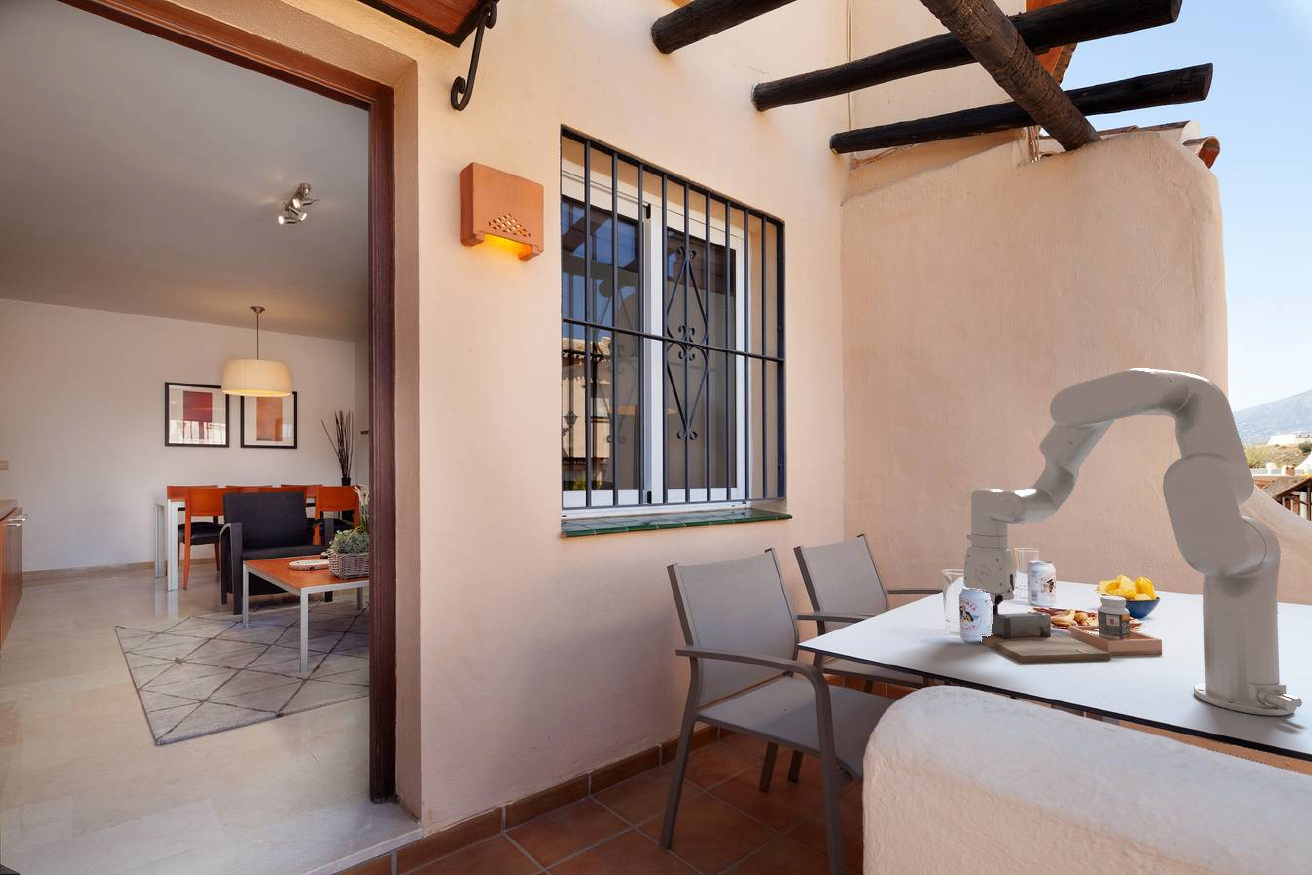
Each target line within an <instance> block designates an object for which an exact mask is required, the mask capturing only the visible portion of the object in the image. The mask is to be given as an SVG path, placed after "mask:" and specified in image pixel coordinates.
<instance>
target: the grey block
mask: <svg viewBox="0 0 1312 875" xmlns="http://www.w3.org/2000/svg"><path fill="white" fill-rule="evenodd" d="M1051 618H1052V615H1051V614H1050V613H1047V612H1044V611H1043V612H1042V611H1041V612H1039V611H1036V612H1035V611H1033V612H1023V613H1021V612H1020V613H1019V612H1018V613H999V612H998V613H993V624H992V630H991V629H990V630H991V631H992V632H991V631H990V632H991V634H994V635H996V636H999V637H1001V638H1004V639H1010V638H1011V637H1023V636H1051V633H1052V619H1051Z"/></svg>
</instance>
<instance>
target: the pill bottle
mask: <svg viewBox="0 0 1312 875" xmlns="http://www.w3.org/2000/svg"><path fill="white" fill-rule="evenodd" d="M1099 601H1100V603H1101V605H1100V606H1098V608H1097V617H1098V620H1097V621H1098V629H1099V636H1100V637H1103V638H1105V639H1108V640H1120V639H1130V629H1131V617H1130V615H1131V613H1130V611H1129V609H1128V608H1126V606H1127V599H1126V598H1125V597H1123V596H1117V595H1101V596H1100V599H1099Z"/></svg>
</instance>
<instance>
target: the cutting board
mask: <svg viewBox="0 0 1312 875" xmlns="http://www.w3.org/2000/svg"><path fill="white" fill-rule="evenodd" d="M982 638H983V639H982V643H981V644H984V646H987V647H988V648H991V649H992V650H994V651H997V652H999V653H1001V654H1003V655H1005V656H1006V657H1009V658H1011V659H1013V660H1015V661H1016V662H1019V663H1021V664H1030V663H1032V664H1034V663H1035V664H1037V663H1039V664H1040V663H1041V664H1042V663H1043V664H1044V663H1069V662H1071V663H1073V662H1076V663H1077V662H1100V661H1101V662H1102V661H1103V662H1104V661H1105V662H1106V661H1111V656H1110V653H1109V652H1106V651H1104V650H1101V649H1099V648H1096V647H1094V646H1091V645H1089V644H1086V643H1084V642H1081V641H1078V640H1076V639H1073V638H1071V637H1068V635H1065V634H1063V633H1061V632H1051V636H1023V637H1011V638H1010V639H1004V638H1001V637H999V636H996V635H994V634H992V633H991V636H988V637H987V636H982Z"/></svg>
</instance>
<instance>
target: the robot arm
mask: <svg viewBox="0 0 1312 875" xmlns="http://www.w3.org/2000/svg"><path fill="white" fill-rule="evenodd" d="M1049 414H1050V417H1051V418H1052V420H1053V421H1054V424H1053V425H1052V427H1051V428H1050V430H1049V431H1047V433H1046V435H1045V436H1044V438H1043V439H1042V441H1040V443H1039V447H1038V448H1039V451H1040V453H1041V454H1042V455H1043V457H1044V458H1045V465H1044V469H1043V471H1042V473H1041V474H1040V475H1039V477H1038V478H1037V480H1036V481H1035V482H1034V484H1033V485H1032V487H1031V488H1025V489H1024V488H1023V489H1014V490H1013V489H1010V490H1003V489H999V488H984V487H983V488H975V489H973V490H972V492H971V493H970V534H967V535H966V540H967V541H970V544H971V545H968V546H966V547H967V549H966V553H965V557H964V563H963V576H962V577H963V578H962V579H963V580H962V581H963V586H964V587H965V588H976V589H980V588H983V589H986V591H984V590H982V591H983V592H986V593H989V595H990V597H991V601H992V603H993V613H998V614H999V608H998V606H999V605H1001V603H1002V602H1003V601H1012V600H1014V599H1015V595H1014V591H1015V587H1016V580H1015V579H1016V577H1015V567H1014V560H1013V556H1012V551H1011V549H1009V547H1008V546H1009V545H1008V543H1009V542H1008V540H1009V539H1008V533H1009V532H1008V525H1009V524H1010V525H1025V524H1032V523H1033V524H1034V523H1041V522H1045V521H1047V520H1049V519H1051V518H1052V517H1053V516H1054V515H1055V514H1056V513H1057V512H1058V511H1059V510H1060V508H1061V507H1062V506H1063V505H1064V503H1065V502H1066V501H1067V500H1068V498H1069V497H1070V495H1071V494H1072V492H1073V491H1074V489H1075V486H1076V484H1077V481H1078V477H1079V473H1080V467H1081V465H1082V464H1083V463H1084V461H1085V460H1086V459H1087V458H1088V456H1089V455H1090V453H1091V452H1092V450H1093V449H1094V448H1095V446H1096V445H1097V444H1098V443H1099V441H1101V439H1102V438H1103V436H1104V435H1105V434H1106V433H1107V431H1108V430H1109V429H1110V427H1111V426H1112V425H1113V424H1114V423H1115V421H1116V420H1119V419H1124V418H1129V417H1134V416H1163V417H1164V416H1167V417H1170V418H1172V419H1173V420H1174V424H1175V425H1174V433H1175V434H1174V436H1175V440H1176V443H1177V446H1178V449H1179V453H1180V458H1179V459H1177V460H1175V461H1174V462H1173V463H1171V465H1169V466H1168V468H1167V469H1166V471H1165V473H1164V475H1163V481H1162V491H1163V496H1164V501H1165V504H1166V507H1167V511H1168V515H1169V519H1170V523H1171V528H1172V531H1173V534H1174V535H1173V536H1174V538H1175V542H1176V545H1177V548H1178V552H1179V553H1180V555H1181V556H1182V558H1183V560H1184V562H1186V563H1187V564H1188V565H1189V567H1190V568H1192V569H1193V570H1195V571H1196V572H1198V573H1200V574H1203V575H1204V577H1203V583H1202V584H1203V586H1202V614H1203V615H1202V616H1203V618H1202V619H1203V647H1204V648H1203V650H1204V651H1203V652H1204V680H1205V681H1204V682H1199V683H1197V684H1195V685H1194V686H1193V693H1194V695H1195V696H1196V697H1197V698H1199V699H1201V700H1202V701H1204V702H1207V703H1209V704H1212V705H1214V706H1217V707H1220V708H1224V709H1228V710H1231V711H1236V712H1240V713H1244V714H1245V713H1247V714H1251V715H1252V714H1253V715H1261V716H1274V717H1275V716H1278V717H1279V716H1280V717H1281V716H1287V715H1290V714H1293V712H1295V711H1296V710H1297V708H1300V707H1301V706H1302V704H1303V701H1302V699H1301V698H1298V697H1297V696H1296V697H1295V696H1293V695H1289V694H1287V684H1285V683H1282V682H1281V681H1280V655H1279V651H1280V650H1279V649H1280V648H1279V624H1278V623H1279V621H1278V620H1279V618H1278V615H1279V611H1278V610H1279V608H1278V605H1279V604H1278V587H1279V583H1278V582H1279V575H1280V574H1279V573H1280V567H1281V553H1282V551H1281V545H1280V541H1279V539H1278V537H1277V536H1276V534H1275V532H1274V531H1273V530H1272V528H1270V527H1269V526H1268V525H1267V524H1265V523H1264V522H1262V521H1260V520H1258V519H1257V518H1253V517H1249V516H1245V515H1242V514H1241V511H1240V507H1239V506H1240V505H1242V504H1244V503H1245V502H1247V501H1249V499H1250V498H1251V497H1252V495H1253V494H1254V490H1255V481H1254V477H1253V475H1252V471H1251V468H1250V465H1249V462H1248V459H1247V455H1246V453H1245V449H1244V446H1243V442H1242V438H1241V436H1240V433H1239V431H1238V428H1237V424H1236V422H1235V417H1234V414H1233V411H1232V408H1231V404H1230V402H1229V399H1228V397H1227V396H1226V394H1225V392H1223V390H1222V389H1221V388H1220V387H1219V386H1218V385H1217V384H1215V383H1214V382H1212V381H1211V380H1209V379H1207V378H1205V377H1202V376H1200V375H1196V374H1191V373H1187V372H1179V371H1173V370H1163V369H1153V368H1140V367H1138V368H1131V369H1126V370H1121V371H1117V372H1114V373H1110V374H1108V375H1104V376H1100V377H1096V378H1093V379H1090V380H1089V379H1088V380H1086V381H1082V382H1079V383H1076V384H1072V385H1069V386H1067V387H1065V388H1063V389H1061V390H1059V391H1058V392H1057V393H1056V394H1055V395H1054V396H1053V398H1052V399H1051V401H1050V405H1049Z"/></svg>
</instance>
